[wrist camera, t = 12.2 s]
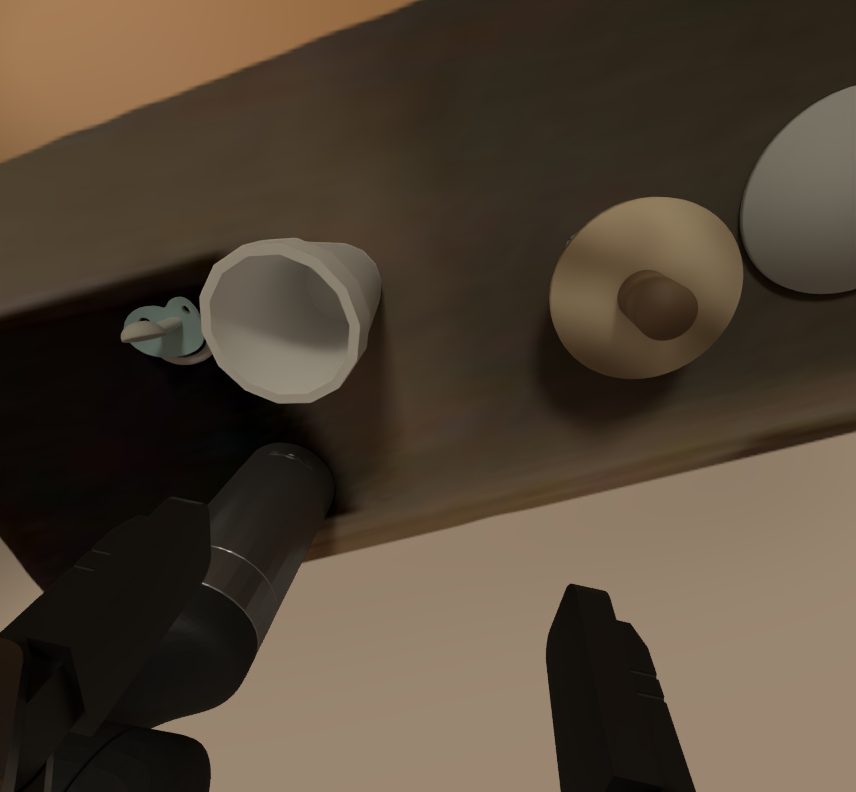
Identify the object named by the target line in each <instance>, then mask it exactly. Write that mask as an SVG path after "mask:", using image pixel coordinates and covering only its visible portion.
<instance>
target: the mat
mask: <svg viewBox="0 0 856 792" xmlns="http://www.w3.org/2000/svg"><path fill="white" fill-rule="evenodd" d="M740 232H741V238H742V242H743V245H744V248H745V251H746V253H747V255H748V257H749V259H750V260H751V261H752V263H753V264H754V266H755V267H756V268H757V269H758V270H759V271H760V272H761V273H762V274H763V275H764V276H765V277H767V278H768V279H770V280H771V281H773V282H775V283H777V284H779V285H781V286H783V287H786V288H789V289H792V290H795V291H798V292H804V293H810V294H831V293H839V292H845V291H850V290H853V289H856V86H852V87H849V88H845V89H843V90H840V91H838V92H835V93H833V94H831V95H829V96H827V97H825V98H823V99H821V100H819V101H817V102H815V103H814V104H812V105H811V106H810V107H808V108H807V109H805V110H804V111H802V112H801V113H799V114H798V115H797V116H796V117H795V118H793V119H792V120H791V121H790V122H789V123H788V124H787V125H786V126H785V127H784V128H783V129H782V130H781V131H780V132H779V133H778V134H777V135H776V136H775V137H774V138H773V139H772V141H771V142H770V143H769V144H768V146H767V147H766V148H765V150H764V151H763V153H762V154H761V156H760V157H759V159H758V160H757V162H756V164H755V166H754V168H753V170H752V172H751V173H750V176H749V178H748V181H747V184H746V186H745V189H744V193H743V197H742V201H741V208H740Z"/></svg>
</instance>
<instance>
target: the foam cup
mask: <svg viewBox="0 0 856 792" xmlns="http://www.w3.org/2000/svg"><path fill="white" fill-rule="evenodd" d="M381 285H382V281H381V278H380V275H379V272H378V269H377V266H376V264H375V263H374V262H373V261H372V259H371V258H370V257H369V256H368V255H367V254H366V253H365V252H364V251H363V250H361V249H358V248H356V247H354V246H351V245H349V244H345V243H325V242H306V241H303V240H301V239H298V238H286V239H272V240H261V241H257V242H253V243H249V244H245V245H242V246H241V247H239V248H238V249H236V250H235V251H233V252H232V253H230V254H229V255H228V256H226V257H225V258H223V259H222V260H220V261H219V262H217V263H216V264H214V265H213V268H212V270H211V272H210V274H209V277H208V279H207V281H206V283H205V285H204V288H203V290H202V292H201V294H200V313H201V329H202V334H203V336H204V338H205V340H206V342H207V344H208V346H209V348H210V350H211V352H212V354H213V356H214V358H215V360H216V362H217V364H218V366H219V367H221V368H222V369H223V370H224V371H225V372H226V373H227V374H228V375H229V376H230V377H231V378H233V379H234V380H235V381H236V382H237V383H238V384H239V385H240V386H241V387H242V388H243V389H244V390H246V391H248V392H251V393H253V394H256V395H258V396H261V397H263V398H266V399H268V400H271V401H273V402H276V403H312V402H314V401H315V400H317V399H319V398H321V397H323V396H325V395H327V394H329V393H331V392H333V391H335V390H336V389H338V388H340V386H341V385H342V384H343V382H344V381H345V380H346V378H347V377H348V375H349V374H350V373H351V371H352V370H353V368H354V367H355V365H356V364H357V362H358V361H359V359H360V358H361V356H362V354H363V353H364V351H365V350H366V348H367V341H368V333H369V330H370V327H371V324H372V321H373V319H374V316H375V313H376V310H377V307H378V304H379V301H380V295H381Z"/></svg>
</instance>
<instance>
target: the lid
mask: <svg viewBox="0 0 856 792" xmlns="http://www.w3.org/2000/svg"><path fill="white" fill-rule="evenodd" d="M742 284H743V265H742V259H741V254H740V251H739V248H738V245H737V243H736V241H735V239H734V237H733V235H732V233H731V232H730V231H729V229H728V228H727V226H726V225H725V224H724V223H723V222H722V221H721V220H720V219H719V218H718V217H717V216H716V215H714V214H713V213H711V212H710V211H709V210H707V209H705V208H703V207H701V206H699V205H697V204H695V203H692V202H689V201H685V200H682V199H675V198H668V197H646V198H638V199H634V200H630V201H626V202H623V203H621V204H618V205H615V206H613V207H611V208H609V209H607V210H605V211H603V212H601V213H600V214H598V215H597V216H596V217H594V218H593V219H591V220H590V221H589V222H587V223H586V224H585V225H584V226H583V227H582V228H581V229H580V230H579V231H578V232H577V233H576V234H575V235H574V236H573V237H572V238H571V240H570V241H569V243H568V244H567V245H566V247H565V248H564V250H563V252H562V253H561V255H560V257H559V259H558V261H557V264H556V266H555V269H554V271H553V275H552V279H551V283H550V291H549V307H550V313H551V318H552V321H553V324H554V327H555V330H556V332H557V334H558V336H559V338H560V340H561V342H562V343H563V345H564V346H565V348H566V349H567V350H568V351H569V353H570V354H571V355H572V356H573V357H574V358H575V359H577V360H578V361H579V362H580V363H581V364H583V365H585V366H586V367H588V368H589V369H591V370H593V371H596V372H598V373H600V374H603V375H607V376H610V377H615V378H621V379H644V378H650V377H655V376H659V375H663V374H666V373H669V372H671V371H674V370H676V369H679V368H681V367H682V366H684V365H686V364H688V363H690V362H691V361H693V360H694V359H696V358H697V357H699V356H700V355H701V354H702V353H704V352H705V351H706V350H707V349H708V348H709V347H710V346H711V345H712V344H713V343H714V342H715V341H716V340H717V339H718V338H719V337H720V335H721V334H722V333H723V331H724V330H725V329H726V327H727V326H728V324H729V322H730V320H731V319H732V317H733V315H734V312H735V310H736V308H737V305H738V302H739V299H740V295H741V291H742Z"/></svg>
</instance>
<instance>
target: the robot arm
mask: <svg viewBox="0 0 856 792" xmlns="http://www.w3.org/2000/svg"><path fill="white" fill-rule="evenodd" d="M334 492H335V485H334V480H333V477H332V475H331V472H330V470H329V469H328V467H327V466H326V465H325V463H324V462H323V461H322V460H321V459H320V458H319V457H318V456H317V455H315V454H314V453H312V452H311V451H309V450H307V449H305V448H303V447H301V446H298V445H294V444H291V443H272V444H268V445H265V446H263V447H261V448H260V449H258V450H256V451H255V452H254V453H253V455H252V456H251V457H250V458H249V459H248V460H247V461H246V462H245V464H244V465H243V466H242V467H241V468H240V469H239V470H238V471H237V473H236V474H235V475H234V476H233V477H232V478H231V479H230V480H229V481H228V483H227V484H226V485H225V486H224V487H223V488H222V489H221V491H220V492H219V493H218V494H217V495H216V496H215V498H214V499H213V500H212V501H211V502H210V503H209V504H208V506H207V505H206V504H204V503H199V502H195V501H190V500H185V499H181V498H176V497H170V498H168V499H166V500H165V501H164V502H163V503H162V504H161V505H160V506H159V507H158V508H157V509H156V510H155V511H154V512H153V513H152V514H151V515H150V516H149V517H145V516H141V515H138V516H137V517H135V518H133V519H131V520H129V521H127V522H125V523H123V524H121V525H119V526H118V527H116V528H114V529H112V530H111V531H110V532H109V533H108V534H107V535H106V536H105V537H104V538H102V539H101V540H100V541H99V542H98V543H97V544H96V545H95V546H94V547H93V548H92V551H91V552H87V553H86V554H85V555H84V556H83V557H82V558H81V559H80V560H79V561H77V562H76V563H75V566H74V568H70V569H69V570H68V571H67V572H66V573H64V574H63V575H62V576H61V577H60V578H59V579H58V580H57V581H56V582H55V583H54V584H53V585H51V586H50V587H49V588H48V589H47V590H46V591H45V592H44V593H43V594H42V595H41V596H40V597H38V598H37V599H36V600H35V601H34V602H33V603H32V604H31V605H30V606H29V607H28V608H27V609H25V610H24V611H23V612H22V613H21V614H20V615H19V616H18V617H17V618H16V619H15V620H14V621H12V622H11V623H10V624H9V625H8V626H7V627H6V628H5V629H4V630H2V631H1V632H0V792H209V788H210V779H211V771H210V770H211V769H210V761H209V757H208V754H207V751H206V750H205V748H204V747H203V745H202V744H201V743H199V742H198V741H197V740H195V739H193V738H190V737H187V736H184V735H180V734H176V733H170V732H165V731H159V730H154V729H151V728H153V727H156V726H158V725H160V724H163V723H165V722H168V721H171V720H174V719H178V718H181V717H185V716H189V715H193V714H197V713H200V712H204V711H207V710H210V709H212V708H215V707H217V706H219V705H221V704H222V703H224V702H225V701H227V700H228V699H229V698H230V697H231V696H232V695H233V694H234V693H235V692H236V691H237V690H238V688H239V687H240V685H241V684H242V682H243V680H244V678H245V677H246V675H247V673H248V671H249V669H250V667H251V665H252V663H253V661H254V659H255V656H256V654H257V652H258V650H259V648H260V646H261V643H262V642H263V640H264V638H265V635H266V634H267V632H268V630H269V628H270V625H271V624H272V621H273V619H274V617H275V615H276V613H277V611H278V609H279V607H280V605H281V603H282V601H283V599H284V597H285V595H286V593H287V591H288V589H289V587H290V585H291V583H292V581H293V579H294V577H295V575H296V573H297V571H298V569H299V567H300V565H301V563H302V561H303V559H304V557H305V555H306V553H307V551H308V549H309V547H310V545H311V543H312V541H313V539H314V537H315V535H316V533H317V531H318V529H319V527H320V525H321V523H322V521H323V519H324V517H325V515H326V513H327V511H328V509H329V507H330V505H331V503H332V500H333V498H334ZM546 664H547V674H548V683H549V692H550V701H551V709H552V718H553V727H554V736H555V745H556V753H557V762H558V771H559V780H560V789H561V792H696V790H695V788H694V785H693V782H692V778H691V776H690V773H689V770H688V767H687V764H686V761H685V758H684V755H683V752H682V749H681V746H680V743H679V740H678V737H677V734H676V731H675V728H674V725H673V722H672V719H671V716H670V713H669V710H668V707H667V704H666V703H665V702H664V695H663V692H662V689H661V686H660V683H659V680H657V679H656V675H657V674H656V671H655V668H654V665H653V662H652V659H651V656H650V653H649V650H648V648H647V646H646V645H645V643H644V642H643V640H642V639H641V638H640V636H639V635H638V634H637V632H636V631H635V629H634V628H633V626H632V625H631V624H630V623H627V622H622V621H618V620H616V617H615V614H614V610H613V607H612V603H611V600H610V597H609V595H608V593H607V592H606V591H603V590H598V589H593V588H589V587H584V586H580V585H575V584H569V585H568V586H567V588H566V591H565V593H564V595H563V598H562V600H561V603H560V606H559V608H558V610H557V613H556V616H555V618H554V621H553V623H552V626H551V628H550V632H549V634H548V639H547V647H546Z"/></svg>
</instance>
